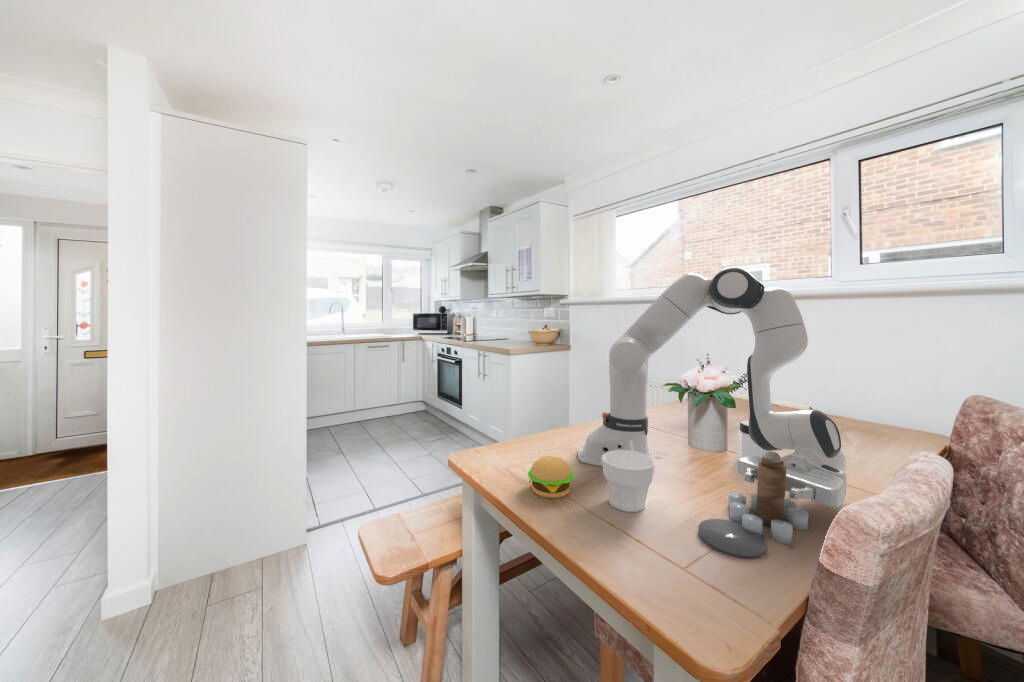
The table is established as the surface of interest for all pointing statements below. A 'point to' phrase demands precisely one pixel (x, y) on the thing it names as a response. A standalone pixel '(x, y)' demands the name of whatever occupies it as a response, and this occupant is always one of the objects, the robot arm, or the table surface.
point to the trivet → (732, 538)
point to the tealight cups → (779, 528)
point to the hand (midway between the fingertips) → (768, 486)
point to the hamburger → (550, 477)
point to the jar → (747, 443)
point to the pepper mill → (771, 488)
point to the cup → (628, 478)
